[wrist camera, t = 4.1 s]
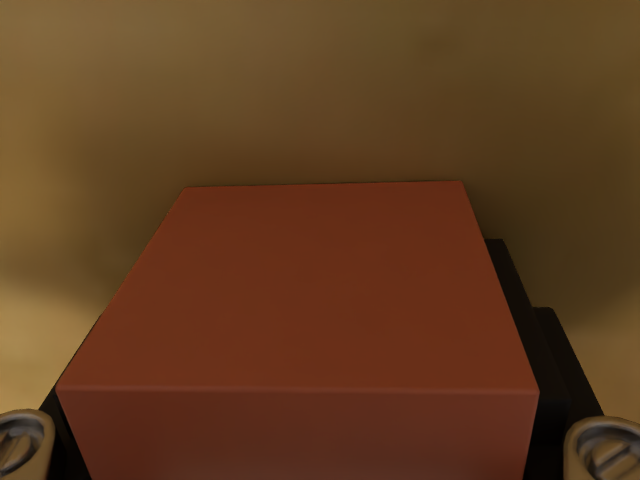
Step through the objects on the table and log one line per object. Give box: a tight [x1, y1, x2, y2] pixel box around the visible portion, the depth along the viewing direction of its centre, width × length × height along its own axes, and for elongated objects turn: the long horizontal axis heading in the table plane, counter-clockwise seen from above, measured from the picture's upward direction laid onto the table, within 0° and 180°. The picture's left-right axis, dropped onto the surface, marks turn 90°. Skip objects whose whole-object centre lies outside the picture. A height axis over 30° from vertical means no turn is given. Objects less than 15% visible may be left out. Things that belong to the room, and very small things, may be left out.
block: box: [55, 181, 540, 480], centre depth 9 cm, size 5×5×5 cm
